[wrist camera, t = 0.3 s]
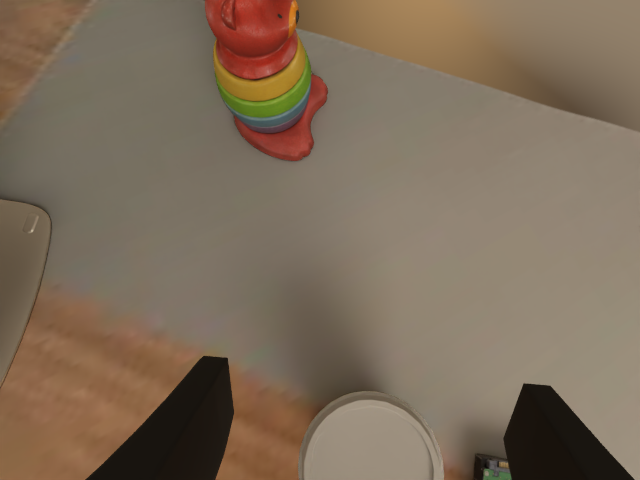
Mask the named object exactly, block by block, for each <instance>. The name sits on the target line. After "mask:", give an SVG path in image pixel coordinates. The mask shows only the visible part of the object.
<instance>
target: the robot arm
mask: <svg viewBox="0 0 640 480" xmlns="http://www.w3.org/2000/svg"><path fill="white" fill-rule="evenodd" d="M233 415H234V408H233V400H232V391H231V382H230V374H229V365H228V358H222V357H211V356H203V357H202V358H201V359H200V360H199V361H198V362H197V363H196V364H195V366H194V367H193V368H192V369H191V370H190V372H189V373H188V374H187V375H186V376H185V377H184V379H183V380H182V381H181V382H180V383H179V384H178V386H177V387H176V388H175V389H174V390H173V391H172V392H171V393H170V395H169V396H168V397H167V398H166V399H165V400H164V401H163V402H162V404H161V405H160V406H159V407H158V408H157V409H156V410H155V411H154V412H153V413H152V414H151V415H150V416H149V418H148V419H147V420H146V421H145V422H144V423H143V424H142V425H141V426H140V427H139V428H138V429H137V430H136V431H135V432H134V433H133V434H132V435H131V436H130V437H129V438H128V439H127V440H126V441H125V442H124V443H123V444H122V445H121V446H120V447H119V448H118V449H117V450H116V451H115V452H114V453H113V454H112V455H111V456H110V457H109V458H108V459H107V460H106V461H105V462H104V463H103V464H102V465H101V466H100V467H99V468H98V469H97V470H95V471H94V472H93V473H92V474H91V475H90V476H89V477H88V478H87V479H86V480H215V479H216V476H217V473H218V470H219V467H220V464H221V462H222V459H223V456H224V452H225V448H226V445H227V441H228V437H229V432H230V428H231V424H232V420H233ZM503 439H504V445H505V450H506V455H507V460H508V465H509V470H510V474H511V479H512V480H634V478H633V477H632V476H631V475H630V474H629V473H628V472H627V471H626V470H625V469H624V468H623V467H622V466H621V465H620V463H619V462H618V461H617V460H616V459H615V458H614V457H613V456H612V455H611V454H610V453H609V451H608V450H607V449H606V448H605V447H604V446H603V445H602V444H601V443H600V441H599V440H598V439H597V438H596V437H595V436H594V435H593V434H592V432H591V431H590V430H589V429H588V428H587V427H586V426H585V425H584V423H583V422H582V421H581V420H580V419H579V418H578V417H577V415H576V414H575V413H574V412H573V411H572V410H571V409H570V407H569V406H568V405H567V404H566V403H565V402H564V401H563V399H562V398H561V397H560V396H559V395H558V394H557V393H556V392H555V390H554V389H553V388H552V387H551V386H548V385H536V384H523V387H522V389H521V392H520V395H519V397H518V400H517V403H516V406H515V408H514V411H513V414H512V416H511V419H510V422H509V425H508V427H507V430H506V433H505V435H504V438H503Z"/></svg>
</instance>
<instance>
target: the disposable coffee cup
mask: <svg viewBox="0 0 640 480" xmlns="http://www.w3.org/2000/svg"><path fill="white" fill-rule="evenodd" d="M298 472H299V480H444V469H443V460H442V456H441V452H440V448H439V444H438V442H437V440H436V438H435V436H434V434H433V432H432V430H431V428H430V426H429V425H428V424H427V422H426V421H425V420H424V419H423V417H422V416H421V415H420V414H419V413H418V412H417V411H416V410H415V409H414V408H413V407H411V406H410V405H409V404H407V403H405V402H404V401H402V400H400V399H399V398H397V397H395V396H392V395H389V394H386V393H383V392H374V391H360V392H353V393H349V394H346V395H343V396H341V397H339V398H337V399H336V400H334V401H332V402H331V403H329V404H328V405H327V406H326V407H324V408H323V409H322V410H321V411H320V412H319V413H318V415H317V416H316V417H315V418H314V419H313V421H312V422H311V424H310V425H309V427H308V429H307V431H306V433H305V436H304V438H303V441H302V445H301V448H300V452H299V463H298Z"/></svg>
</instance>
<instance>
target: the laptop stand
mask: <svg viewBox="0 0 640 480" xmlns="http://www.w3.org/2000/svg"><path fill="white" fill-rule="evenodd" d="M51 229H52V227H51V220H50V217H49V215H48V214H47V213H46V212H45V211H43V210H42V209H40V208H38V207H36V206H33V205H29V204H25V203H20V202H14V201H8V200H1V199H0V387H1V385H2V383H3V381H4V379H5V377H6V375H7V372H8V370H9V368H10V366H11V363H12V361H13V359H14V357H15V354H16V352H17V349H18V347H19V344H20V342H21V339H22V337H23V334H24V332H25V329H26V326H27V324H28V321H29V318H30V315H31V312H32V309H33V306H34V303H35V300H36V296H37V293H38V290H39V286H40V283H41V279H42V275H43V271H44V267H45V263H46V259H47V254H48V249H49V244H50V238H51Z"/></svg>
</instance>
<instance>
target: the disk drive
mask: <svg viewBox="0 0 640 480" xmlns="http://www.w3.org/2000/svg"><path fill="white" fill-rule="evenodd" d="M474 480H512V479H511V474H510V470H509V465H508V460H507V459H502V458H497V457H492V456H487V455H482V454H477V455H476V462H475V472H474Z"/></svg>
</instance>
